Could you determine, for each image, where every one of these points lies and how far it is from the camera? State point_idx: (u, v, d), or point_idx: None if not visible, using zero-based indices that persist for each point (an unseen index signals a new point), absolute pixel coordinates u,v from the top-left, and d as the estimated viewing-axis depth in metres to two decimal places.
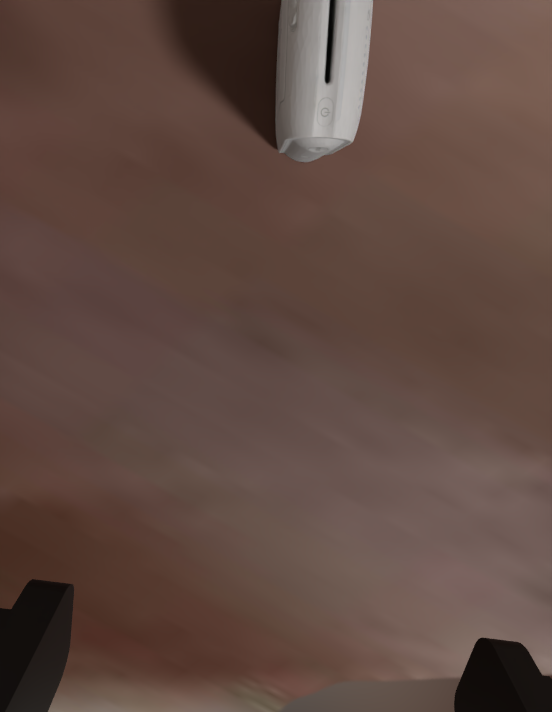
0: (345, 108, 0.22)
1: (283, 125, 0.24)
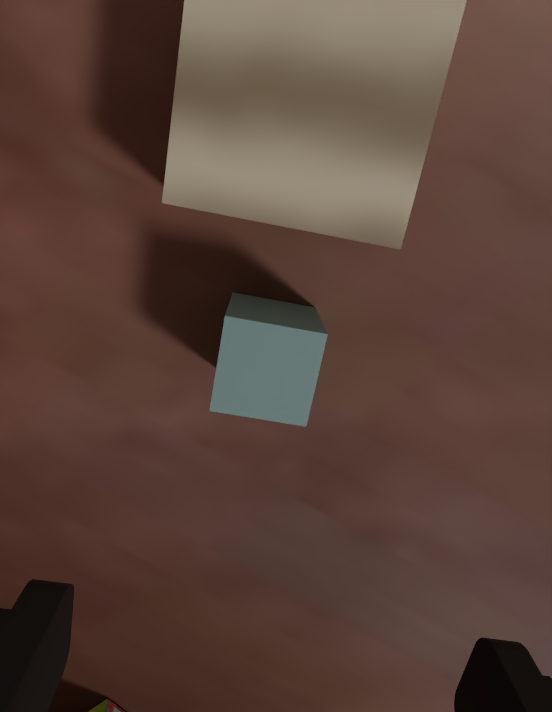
0: None
1: None
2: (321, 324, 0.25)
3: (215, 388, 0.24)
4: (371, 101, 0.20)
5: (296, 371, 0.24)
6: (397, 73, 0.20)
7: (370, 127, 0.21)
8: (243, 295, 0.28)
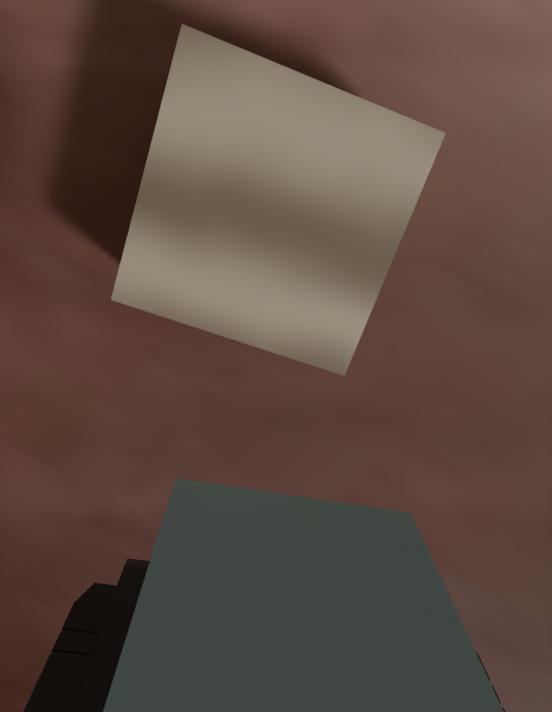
0: None
1: None
2: None
3: None
4: (331, 236, 0.20)
5: None
6: (360, 215, 0.20)
7: (328, 260, 0.21)
8: (205, 495, 0.09)
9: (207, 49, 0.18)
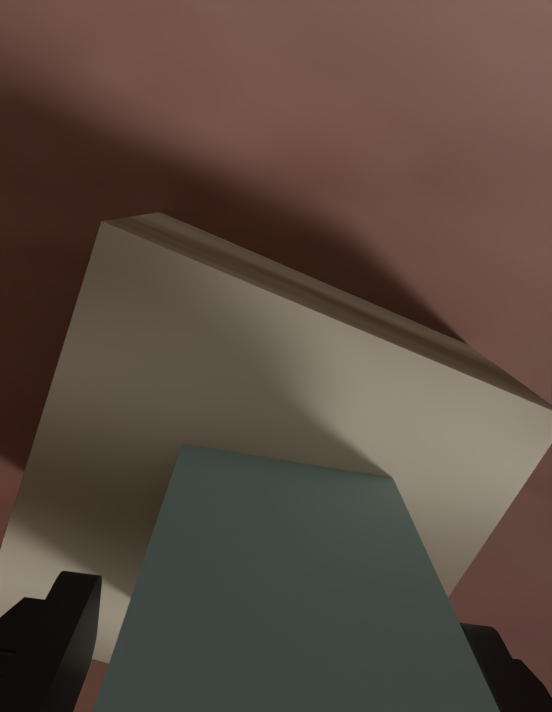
0: None
1: None
2: (456, 628, 0.07)
3: None
4: None
5: None
6: None
7: None
8: (209, 458, 0.11)
9: (149, 266, 0.10)
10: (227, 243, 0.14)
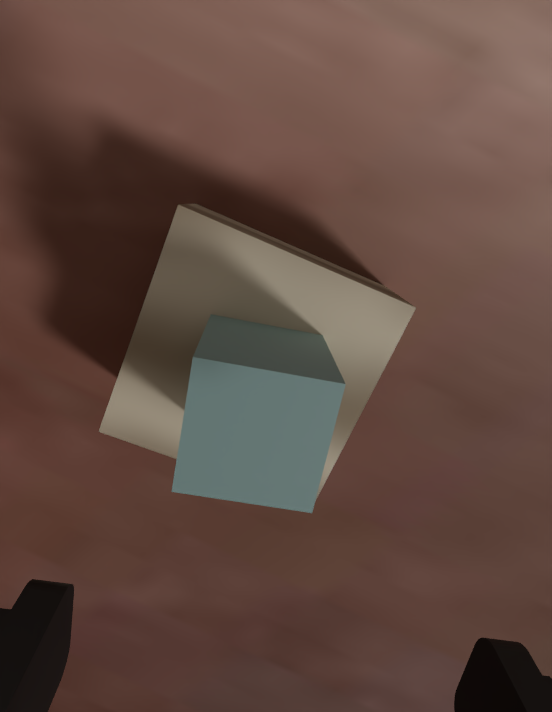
0: None
1: None
2: (334, 365, 0.17)
3: (180, 460, 0.16)
4: None
5: (298, 437, 0.16)
6: None
7: None
8: (225, 319, 0.21)
9: (200, 227, 0.20)
10: (236, 221, 0.25)
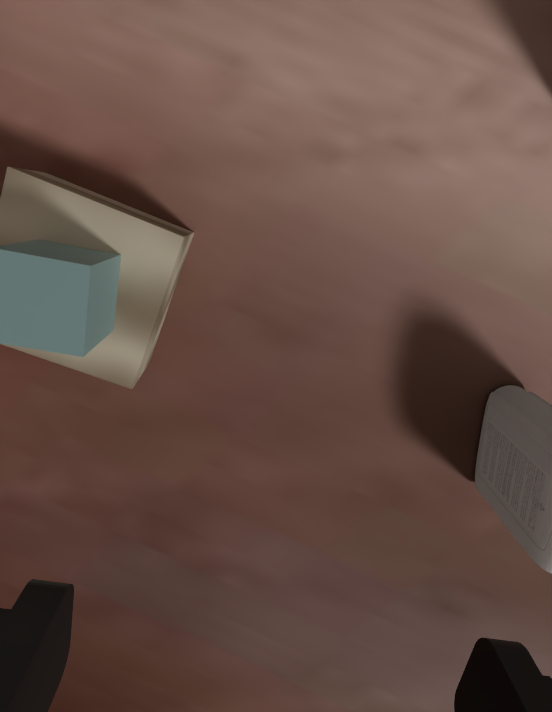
0: None
1: (535, 557, 0.34)
2: (99, 261, 0.26)
3: None
4: None
5: (66, 303, 0.25)
6: (133, 285, 0.31)
7: None
8: (47, 241, 0.30)
9: (24, 181, 0.29)
10: (74, 185, 0.34)
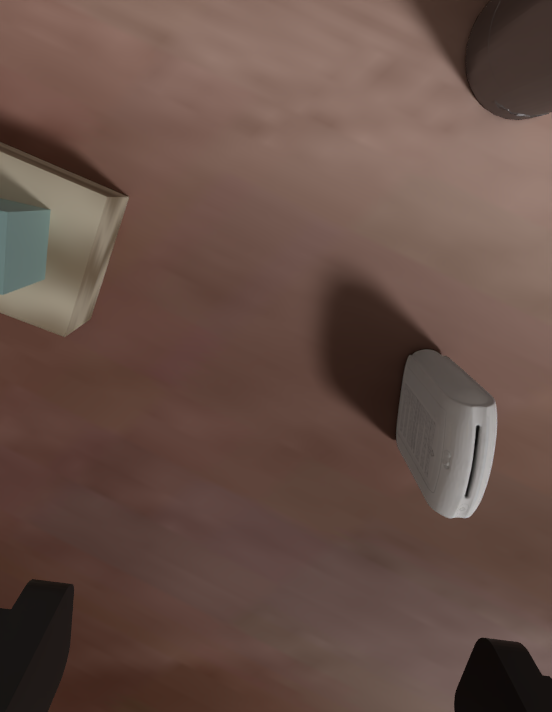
0: (475, 506, 0.35)
1: (429, 500, 0.37)
2: (21, 211, 0.30)
3: None
4: (47, 252, 0.35)
5: None
6: (62, 240, 0.34)
7: (46, 265, 0.35)
8: None
9: None
10: (17, 150, 0.37)
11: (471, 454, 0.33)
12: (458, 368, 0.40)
